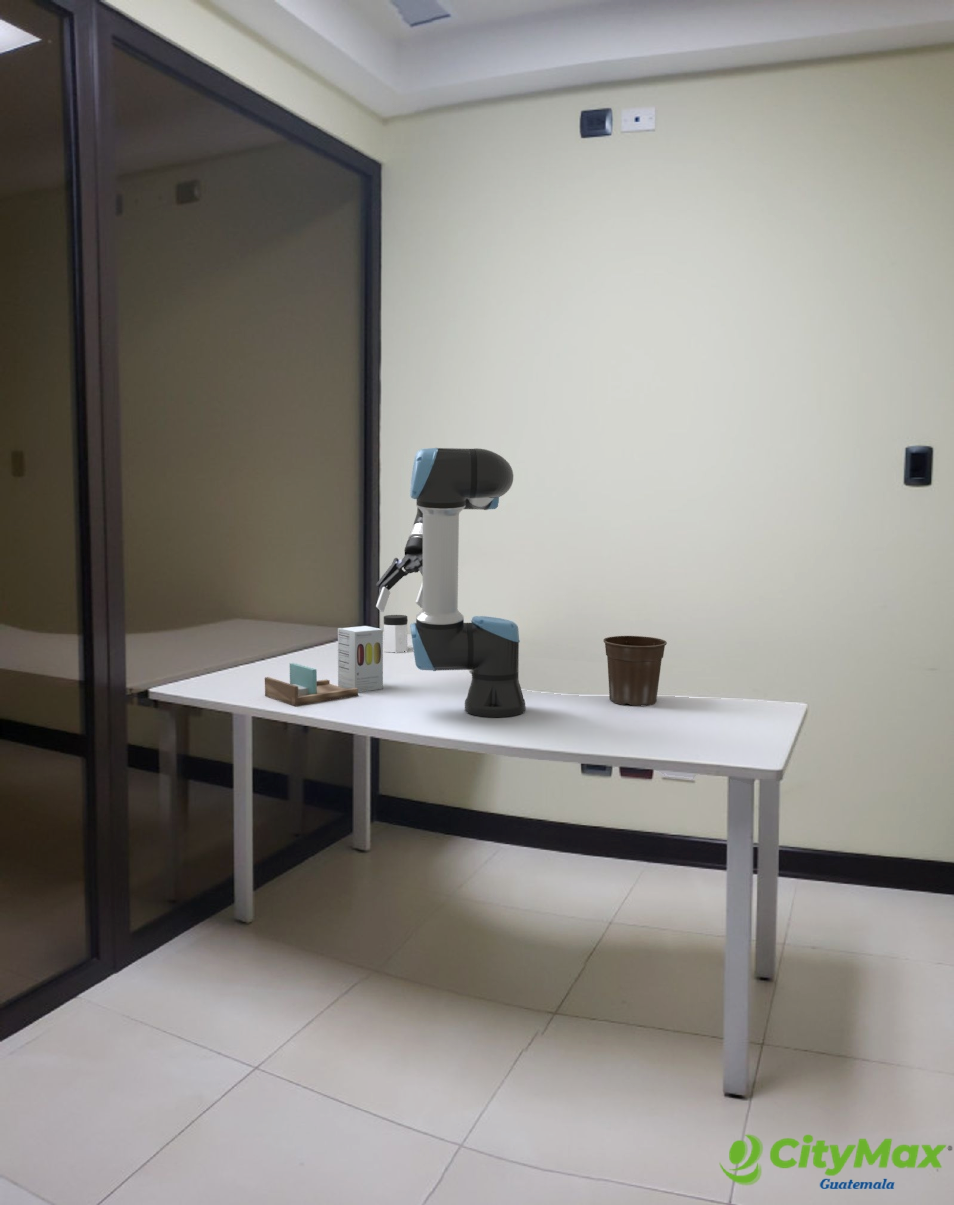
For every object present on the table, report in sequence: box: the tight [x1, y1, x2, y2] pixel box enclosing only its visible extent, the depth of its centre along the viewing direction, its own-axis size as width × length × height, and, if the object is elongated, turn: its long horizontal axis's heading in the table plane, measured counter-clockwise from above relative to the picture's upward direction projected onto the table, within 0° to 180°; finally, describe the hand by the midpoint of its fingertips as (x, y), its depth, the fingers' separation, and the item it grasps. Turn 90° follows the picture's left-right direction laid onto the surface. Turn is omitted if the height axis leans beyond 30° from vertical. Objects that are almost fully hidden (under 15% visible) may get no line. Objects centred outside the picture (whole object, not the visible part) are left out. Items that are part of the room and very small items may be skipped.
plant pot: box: [603, 635, 668, 707], centre depth 245 cm, size 16×16×16 cm
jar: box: [383, 614, 408, 653], centre depth 322 cm, size 9×8×12 cm
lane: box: [264, 676, 359, 707], centre depth 251 cm, size 19×16×5 cm
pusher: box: [289, 662, 318, 696], centre depth 249 cm, size 4×12×7 cm, turn 40°
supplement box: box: [337, 625, 384, 693], centre depth 260 cm, size 10×9×17 cm
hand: (399, 607), depth 253 cm, fingers open, 13 cm apart
